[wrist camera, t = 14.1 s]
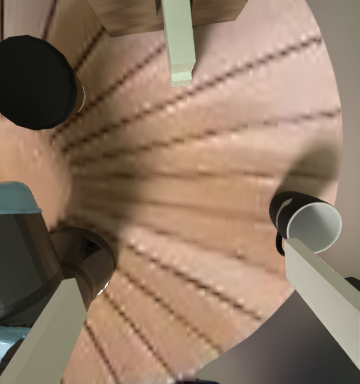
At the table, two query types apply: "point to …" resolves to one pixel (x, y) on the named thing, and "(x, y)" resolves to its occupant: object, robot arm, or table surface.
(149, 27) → the slotted board
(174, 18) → the sage plate
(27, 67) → the coffee cup
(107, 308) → the table surface
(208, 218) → the table surface
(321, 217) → the mug
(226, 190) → the table surface
